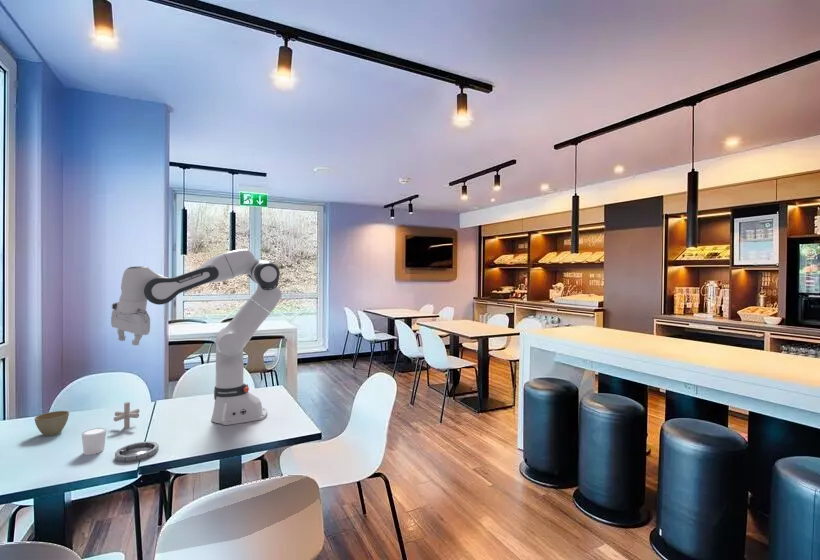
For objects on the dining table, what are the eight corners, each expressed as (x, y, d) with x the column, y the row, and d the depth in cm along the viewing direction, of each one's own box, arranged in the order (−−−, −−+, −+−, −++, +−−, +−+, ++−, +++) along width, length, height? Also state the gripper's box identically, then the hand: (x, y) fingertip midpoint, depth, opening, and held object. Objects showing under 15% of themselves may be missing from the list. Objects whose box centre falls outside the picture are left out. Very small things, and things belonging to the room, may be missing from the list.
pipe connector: (126, 433, 154) (126, 407, 154) (104, 430, 156) (105, 405, 156) (147, 423, 164) (147, 399, 164) (127, 421, 166) (127, 398, 166)
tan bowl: (67, 426, 160) (68, 408, 160) (70, 433, 153) (70, 415, 153) (34, 433, 154) (34, 414, 153) (34, 441, 146) (34, 421, 146)
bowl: (162, 444, 144) (162, 440, 144) (152, 459, 133) (152, 454, 133) (123, 449, 140) (123, 444, 140) (109, 464, 129) (109, 458, 129)
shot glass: (90, 447, 142) (90, 427, 142) (110, 446, 142) (111, 427, 142) (76, 455, 135) (76, 435, 135) (97, 455, 135) (97, 435, 135)
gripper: (156, 311, 151) (152, 346, 151) (126, 303, 161) (122, 337, 161) (139, 311, 146) (134, 348, 146) (109, 303, 155) (105, 338, 155)
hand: (128, 342), depth 153 cm, fingers open, 8 cm apart
